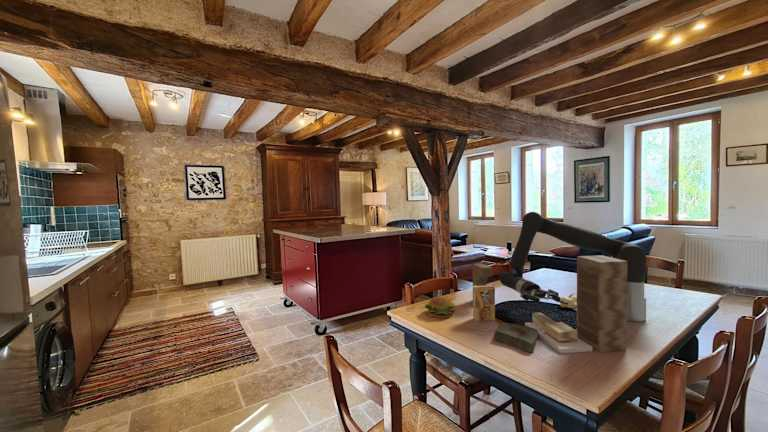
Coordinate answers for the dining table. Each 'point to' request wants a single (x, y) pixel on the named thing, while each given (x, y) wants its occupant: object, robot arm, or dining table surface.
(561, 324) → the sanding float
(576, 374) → the dining table surface
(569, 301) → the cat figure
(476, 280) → the decorative block
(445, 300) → the food
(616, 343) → the zigzag patterned tall block
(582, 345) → the grey board
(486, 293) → the candy box
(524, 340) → the marble piece
